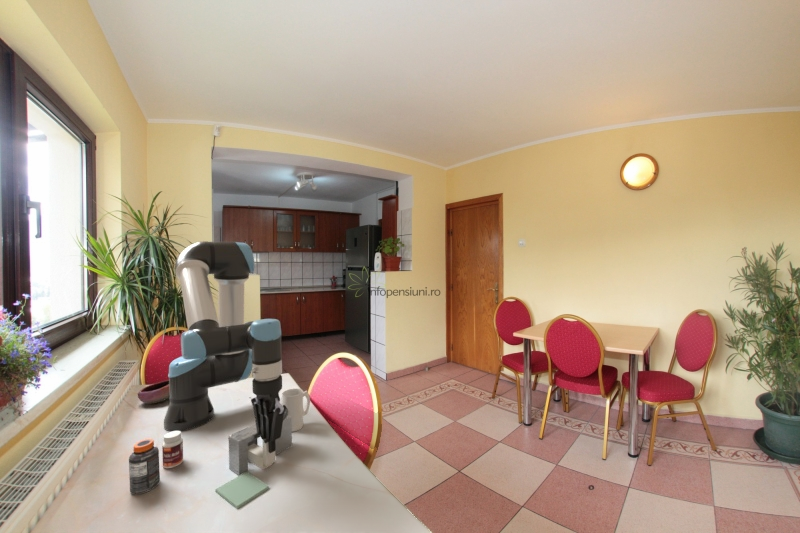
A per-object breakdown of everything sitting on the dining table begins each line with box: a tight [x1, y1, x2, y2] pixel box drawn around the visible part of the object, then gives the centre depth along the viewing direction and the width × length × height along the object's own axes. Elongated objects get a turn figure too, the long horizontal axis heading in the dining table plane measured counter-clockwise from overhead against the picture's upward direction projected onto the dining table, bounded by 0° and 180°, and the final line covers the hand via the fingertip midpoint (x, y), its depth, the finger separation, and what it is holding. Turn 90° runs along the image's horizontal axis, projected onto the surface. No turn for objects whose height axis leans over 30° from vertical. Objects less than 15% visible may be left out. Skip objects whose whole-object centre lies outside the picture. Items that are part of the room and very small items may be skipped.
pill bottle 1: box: [128, 438, 161, 495], centre depth 81 cm, size 6×6×11 cm
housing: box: [228, 407, 293, 476], centre depth 93 cm, size 5×16×13 cm, turn 145°
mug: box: [281, 388, 311, 432], centre depth 111 cm, size 10×7×12 cm, turn 139°
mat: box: [215, 471, 270, 510], centre depth 79 cm, size 10×8×1 cm
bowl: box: [137, 379, 170, 404], centre depth 135 cm, size 16×13×8 cm
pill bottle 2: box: [161, 431, 184, 469], centre depth 91 cm, size 5×5×8 cm
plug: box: [231, 426, 274, 470], centre depth 93 cm, size 15×5×6 cm, turn 55°
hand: (269, 462), depth 88 cm, fingers closed
